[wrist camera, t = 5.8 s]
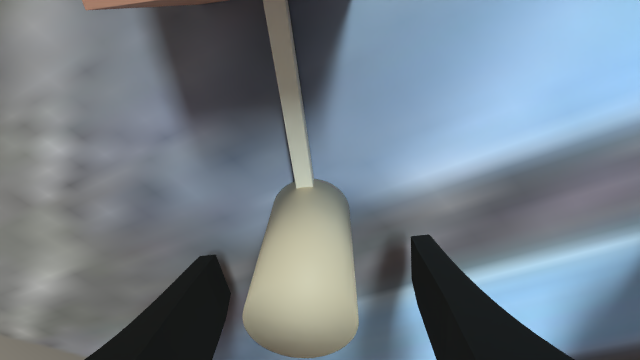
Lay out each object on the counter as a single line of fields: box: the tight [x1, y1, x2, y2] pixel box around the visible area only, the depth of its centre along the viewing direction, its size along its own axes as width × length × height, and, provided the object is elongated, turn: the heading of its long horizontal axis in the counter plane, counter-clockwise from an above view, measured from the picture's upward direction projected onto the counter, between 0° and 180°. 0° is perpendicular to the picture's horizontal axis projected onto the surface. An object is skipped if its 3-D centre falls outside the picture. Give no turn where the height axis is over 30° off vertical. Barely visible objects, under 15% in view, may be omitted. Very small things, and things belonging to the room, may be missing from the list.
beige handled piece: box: [82, 0, 359, 358], centre depth 8 cm, size 4×14×5 cm, turn 7°
